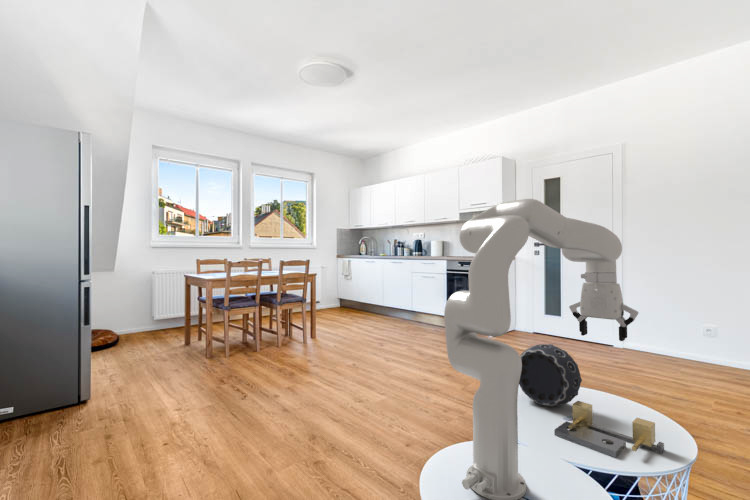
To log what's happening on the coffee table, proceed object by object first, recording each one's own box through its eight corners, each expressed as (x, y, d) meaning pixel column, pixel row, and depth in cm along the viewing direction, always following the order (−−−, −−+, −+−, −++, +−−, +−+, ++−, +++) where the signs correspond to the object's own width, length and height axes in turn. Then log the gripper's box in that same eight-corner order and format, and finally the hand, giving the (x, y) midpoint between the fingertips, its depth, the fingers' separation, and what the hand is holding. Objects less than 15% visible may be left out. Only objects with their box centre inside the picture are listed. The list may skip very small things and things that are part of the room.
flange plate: (615, 457, 89) (615, 451, 89) (554, 435, 101) (554, 429, 101) (626, 446, 94) (625, 440, 95) (566, 426, 106) (566, 421, 106)
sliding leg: (643, 456, 87) (643, 436, 88) (624, 450, 91) (624, 430, 91) (655, 441, 95) (654, 422, 95) (637, 435, 98) (636, 417, 98)
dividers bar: (653, 465, 86) (653, 439, 86) (562, 432, 102) (562, 410, 102) (664, 449, 93) (664, 425, 93) (578, 421, 109) (577, 400, 109)
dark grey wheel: (528, 391, 133) (527, 337, 134) (585, 409, 117) (584, 348, 118) (512, 398, 127) (511, 342, 127) (570, 418, 111) (569, 354, 111)
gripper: (564, 278, 108) (565, 334, 107) (633, 280, 95) (635, 345, 94) (573, 276, 113) (575, 330, 112) (640, 278, 100) (642, 340, 99)
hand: (602, 337), depth 103 cm, fingers open, 9 cm apart
